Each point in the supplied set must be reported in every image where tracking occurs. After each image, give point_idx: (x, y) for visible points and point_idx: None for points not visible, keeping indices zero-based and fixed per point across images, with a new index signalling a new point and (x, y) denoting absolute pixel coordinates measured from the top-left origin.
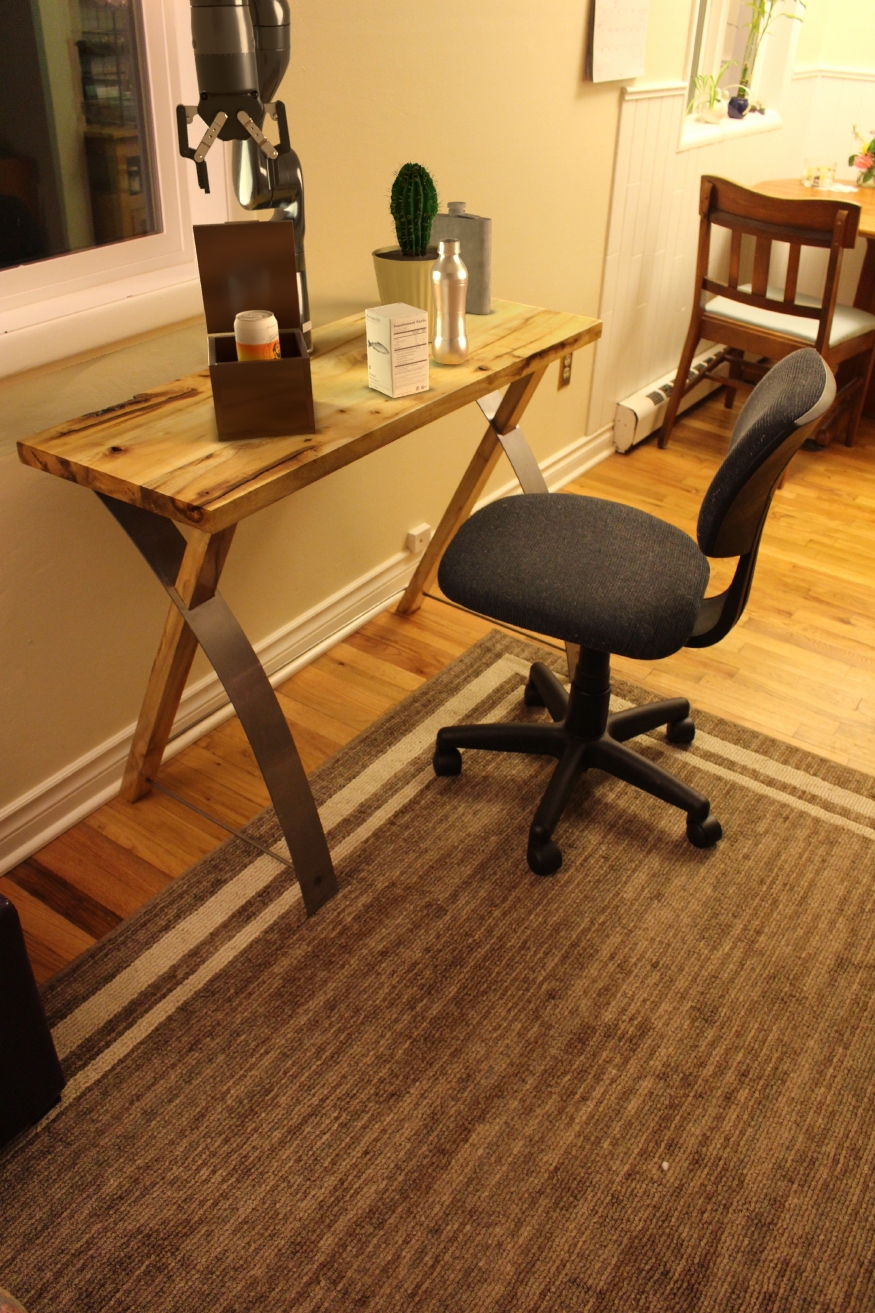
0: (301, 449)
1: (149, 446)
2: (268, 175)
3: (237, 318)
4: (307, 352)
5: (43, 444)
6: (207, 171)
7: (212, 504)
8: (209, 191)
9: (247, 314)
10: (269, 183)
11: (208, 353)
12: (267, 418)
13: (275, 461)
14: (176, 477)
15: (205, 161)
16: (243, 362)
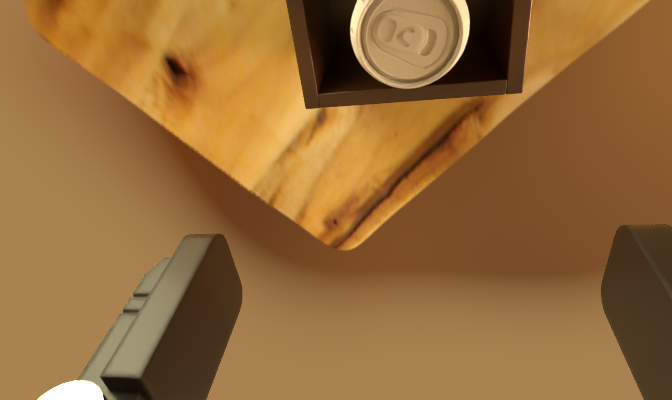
0: (460, 109)
1: (221, 62)
2: (645, 323)
3: (362, 61)
4: (526, 48)
5: (52, 29)
6: (197, 372)
7: (344, 247)
8: (239, 302)
9: (387, 18)
10: (617, 310)
11: (290, 20)
12: None
13: (418, 147)
14: (289, 176)
15: (147, 395)
16: (375, 101)
